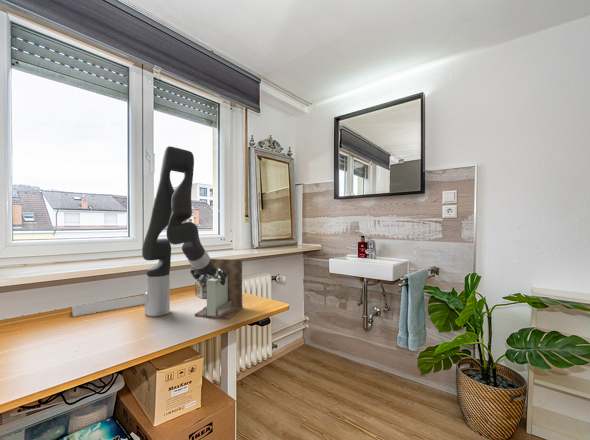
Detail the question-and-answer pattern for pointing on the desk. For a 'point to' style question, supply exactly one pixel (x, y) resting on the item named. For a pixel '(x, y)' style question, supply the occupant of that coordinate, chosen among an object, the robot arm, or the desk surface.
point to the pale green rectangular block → (216, 295)
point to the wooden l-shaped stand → (234, 289)
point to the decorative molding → (107, 305)
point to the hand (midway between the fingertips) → (214, 283)
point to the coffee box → (201, 288)
